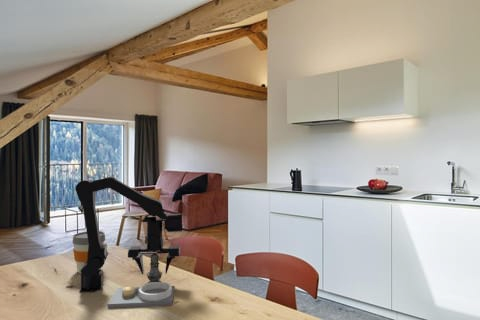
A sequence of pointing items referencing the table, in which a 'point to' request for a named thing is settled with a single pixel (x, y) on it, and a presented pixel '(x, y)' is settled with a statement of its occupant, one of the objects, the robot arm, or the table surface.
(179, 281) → the table surface
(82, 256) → the reusable coffee cup
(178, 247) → the robot arm
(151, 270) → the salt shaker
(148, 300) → the socket board
